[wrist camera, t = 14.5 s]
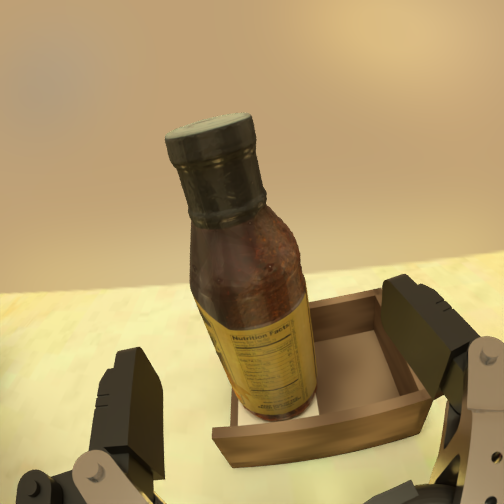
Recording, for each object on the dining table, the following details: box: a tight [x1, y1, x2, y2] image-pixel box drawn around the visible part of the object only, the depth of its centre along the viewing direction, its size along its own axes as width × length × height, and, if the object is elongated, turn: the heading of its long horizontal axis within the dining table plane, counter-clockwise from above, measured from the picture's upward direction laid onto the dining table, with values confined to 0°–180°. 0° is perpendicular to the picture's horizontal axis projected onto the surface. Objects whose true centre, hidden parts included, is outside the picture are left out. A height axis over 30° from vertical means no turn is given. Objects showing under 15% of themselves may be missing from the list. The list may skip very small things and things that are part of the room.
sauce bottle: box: [165, 113, 317, 421], centre depth 19 cm, size 7×6×20 cm
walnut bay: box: [212, 288, 433, 468], centre depth 23 cm, size 14×12×5 cm
